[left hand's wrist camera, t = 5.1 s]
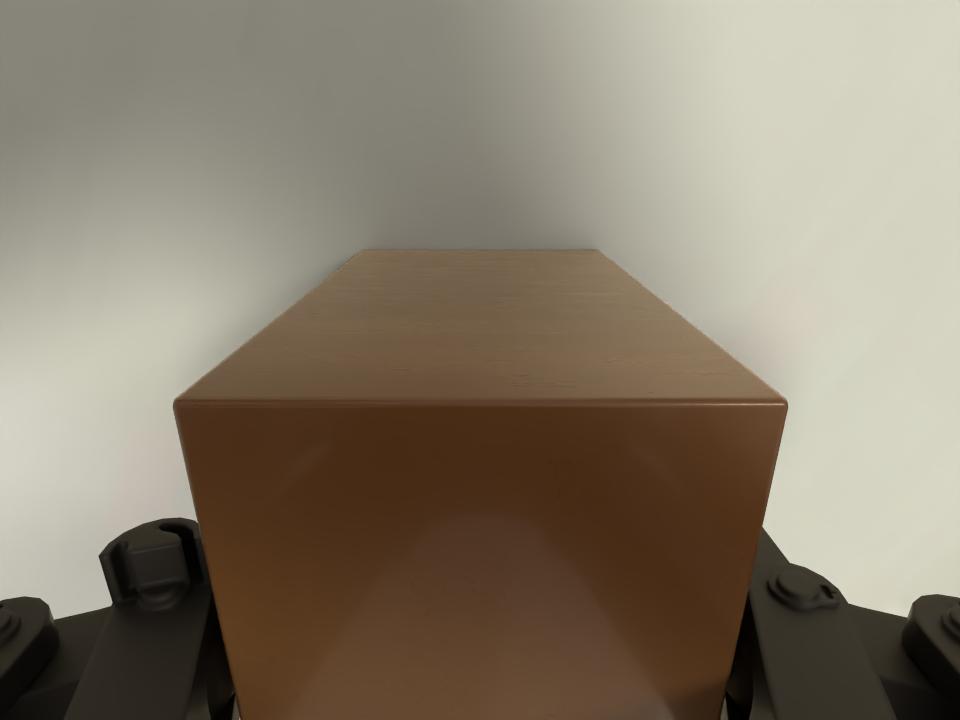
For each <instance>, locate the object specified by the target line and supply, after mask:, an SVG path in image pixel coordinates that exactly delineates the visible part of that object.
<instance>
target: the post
mask: <svg viewBox="0 0 960 720" xmlns="http://www.w3.org/2000/svg"><path fill="white" fill-rule="evenodd" d="M173 410H174V415H175V420H176V424H177V429H178V433H179V438H180V443H181V447H182V452H183V456H184V461H185V466H186V470H187V475H188V480H189V484H190V489H191V493H192V498H193V503H194V507H195V512H196V516H197V521H198V526H199V530H200V535H201V540H202V544H203V549H204V553H205V558H206V563H207V567H208V572H209V576H210V581H211V586H212V590H213V595H214V600H215V604H216V609H217V613H218V618H219V623H220V627H221V632H222V636H223V641H224V646H225V650H226V655H227V660H228V664H229V669H230V673H231V678H232V683H233V687H234V692H235V696H236V701H237V706H238V710H239V715H240V720H720V718H721V713H722V709H723V704H724V700H725V695H726V690H727V686H728V681H729V677H730V672H731V667H732V663H733V658H734V654H735V649H736V644H737V640H738V635H739V631H740V626H741V621H742V617H743V612H744V608H745V603H746V599H747V594H748V589H749V585H750V580H751V576H752V571H753V566H754V562H755V557H756V553H757V548H758V543H759V539H760V534H761V530H762V525H763V520H764V516H765V511H766V507H767V502H768V497H769V493H770V488H771V484H772V479H773V474H774V470H775V465H776V461H777V456H778V451H779V447H780V442H781V438H782V433H783V428H784V424H785V419H786V415H787V410H788V403H787V400H786V399H785V398H784V397H783V396H782V395H780V394H779V393H778V392H777V391H775V390H774V389H773V388H772V387H770V386H769V385H768V384H767V383H765V382H764V381H763V380H761V379H760V378H759V377H758V376H756V375H755V374H754V373H753V372H751V371H750V370H749V369H748V368H746V367H745V366H744V365H743V364H741V363H740V362H739V361H737V360H736V359H735V358H734V357H732V356H731V355H730V354H729V353H727V352H726V351H725V350H724V349H722V348H721V347H720V346H719V345H717V344H716V343H715V342H714V341H712V340H711V339H710V338H708V337H707V336H706V335H705V334H703V333H702V332H701V331H700V330H698V329H697V328H696V327H695V326H693V325H692V324H691V323H690V322H688V321H687V320H686V319H685V318H683V317H682V316H681V315H679V314H678V313H677V312H676V311H674V310H673V309H672V308H671V307H669V306H668V305H667V304H666V303H664V302H663V301H662V300H661V299H659V298H658V297H657V296H656V295H654V294H653V293H652V292H650V291H649V290H648V289H647V288H645V287H644V286H643V285H642V284H640V283H639V282H638V281H637V280H635V279H634V278H633V277H632V276H630V275H629V274H628V273H627V272H625V271H624V270H623V269H621V268H620V267H619V266H618V265H616V264H615V263H614V262H613V261H611V260H610V259H609V258H608V257H606V256H605V255H604V254H603V253H601V252H600V251H598V250H362V251H360V252H359V253H358V254H356V255H355V256H354V257H353V258H351V259H350V260H349V261H348V262H346V263H345V264H344V265H343V266H341V267H340V268H339V269H338V270H336V271H335V272H334V273H333V274H331V275H330V276H329V277H328V278H326V279H325V280H324V281H323V282H321V283H320V284H319V285H317V286H316V287H315V288H314V289H312V290H311V291H310V292H309V293H307V294H306V295H305V296H304V297H302V298H301V299H300V300H299V301H297V302H296V303H295V304H294V305H292V306H291V307H290V308H289V309H287V310H286V311H285V312H284V313H282V314H281V315H280V316H279V317H277V318H276V319H275V320H274V321H272V322H271V323H270V324H268V325H267V326H266V327H265V328H263V329H262V330H261V331H260V332H258V333H257V334H256V335H255V336H253V337H252V338H251V339H250V340H248V341H247V342H246V343H245V344H243V345H242V346H241V347H240V348H238V349H237V350H236V351H235V352H233V353H232V354H231V355H230V356H228V357H227V358H226V359H225V360H223V361H222V362H221V363H219V364H218V365H217V366H216V367H214V368H213V369H212V370H211V371H209V372H208V373H207V374H206V375H204V376H203V377H202V378H201V379H199V380H198V381H197V382H196V383H194V384H193V385H192V386H191V387H189V388H188V389H187V390H186V391H184V392H183V393H182V394H181V395H179V396H178V397H177V398H176V399H175V400H174V403H173Z"/></svg>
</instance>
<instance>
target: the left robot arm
mask: <svg viewBox="0 0 960 720" xmlns="http://www.w3.org/2000/svg"><path fill="white" fill-rule="evenodd" d="M99 559H100V562H101V565H102V569H103V572H104V575H105V579H106V582H107V585H108V589H109V592H110V595H111V599H112V602H113V603H112V606H110V607H106V608H103V609H100V610H95V611H91V612H86V613H82V614H78V615H73V616H69V617H65V618H60V619H56V620H54V619H53V616H52V614H51V611H50V608H49V605H48V604H46V603H45V602H44V601H43V600H41V599H40V598H33V597H18V598H12V599H6V600H2V601H0V720H239V718H240V715H239V710H238V706H237V701H236V696H235V692H234V687H233V683H232V678H231V673H230V669H229V664H228V660H227V655H226V650H225V646H224V641H223V636H222V632H221V627H220V623H219V618H218V613H217V609H216V604H215V600H214V595H213V590H212V586H211V581H210V576H209V572H208V567H207V563H206V558H205V553H204V549H203V544H202V540H201V535H200V530H199V526H198V523H197V522H196V521H194V520H189V519H185V518H166V519H160V520H156V521H152V522H148V523H144V524H142V525H140V526H137V527H135V528H133V529H131V530H129V531H126V532H124V533H123V534H121V535H120V536H119V537H117V538H116V539H114V540H113V541H112V542H110V543H109V544H108V545H107V546H106V547H105V549H104V550H103V551H102V552H101V554H100V555H99ZM720 720H960V598H957V597H951V596H945V595H939V594H935V595H926V596H921V597H920V598H918V599H917V600H916V601H915V602H913V604H912V607H911V609H910V612H909V615H908V618H906V617H902V616H897V615H893V614H889V613H884V612H880V611H875V610H871V609H867V608H862V607H859V606H855V605H852V604H848V602H847V601H846V599H845V598H844V596H843V595H842V594H841V592H840V591H839V589H838V588H837V587H835V586H834V585H833V584H832V583H830V582H829V581H828V580H827V579H825V578H824V577H823V576H821V575H819V574H817V573H815V572H813V571H811V570H809V569H807V568H805V567H802V566H798V565H795V564H792V563H789V561H788V560H787V559H786V557H785V556H784V555H783V553H782V552H781V551H780V550H779V548H778V547H777V546H776V544H775V543H774V542H773V540H772V539H771V538H770V536H769V535H768V534H767V532H766V531H765V530H764V528H763V527H762V530H761V534H760V539H759V543H758V548H757V553H756V557H755V562H754V566H753V571H752V576H751V580H750V585H749V589H748V594H747V599H746V603H745V608H744V612H743V617H742V621H741V626H740V631H739V635H738V640H737V644H736V649H735V654H734V658H733V663H732V667H731V672H730V677H729V681H728V686H727V690H726V695H725V700H724V704H723V709H722V713H721V718H720Z"/></svg>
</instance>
